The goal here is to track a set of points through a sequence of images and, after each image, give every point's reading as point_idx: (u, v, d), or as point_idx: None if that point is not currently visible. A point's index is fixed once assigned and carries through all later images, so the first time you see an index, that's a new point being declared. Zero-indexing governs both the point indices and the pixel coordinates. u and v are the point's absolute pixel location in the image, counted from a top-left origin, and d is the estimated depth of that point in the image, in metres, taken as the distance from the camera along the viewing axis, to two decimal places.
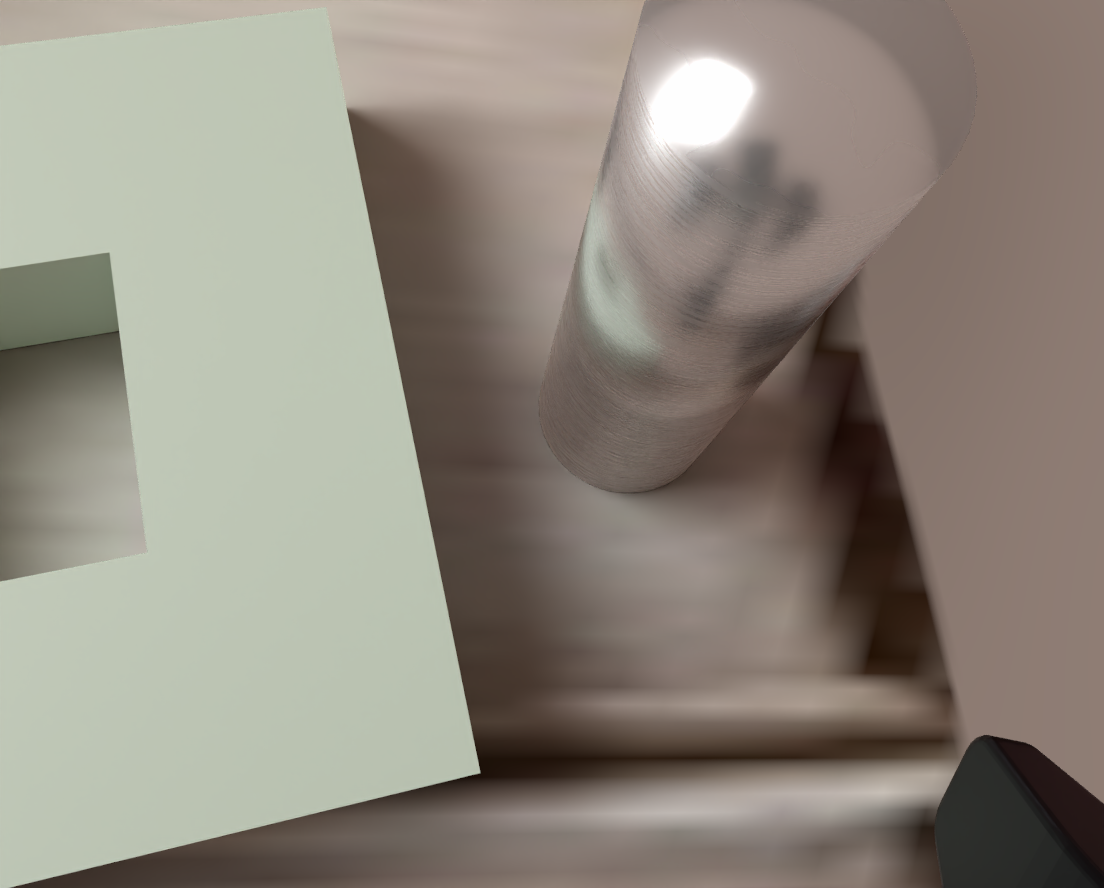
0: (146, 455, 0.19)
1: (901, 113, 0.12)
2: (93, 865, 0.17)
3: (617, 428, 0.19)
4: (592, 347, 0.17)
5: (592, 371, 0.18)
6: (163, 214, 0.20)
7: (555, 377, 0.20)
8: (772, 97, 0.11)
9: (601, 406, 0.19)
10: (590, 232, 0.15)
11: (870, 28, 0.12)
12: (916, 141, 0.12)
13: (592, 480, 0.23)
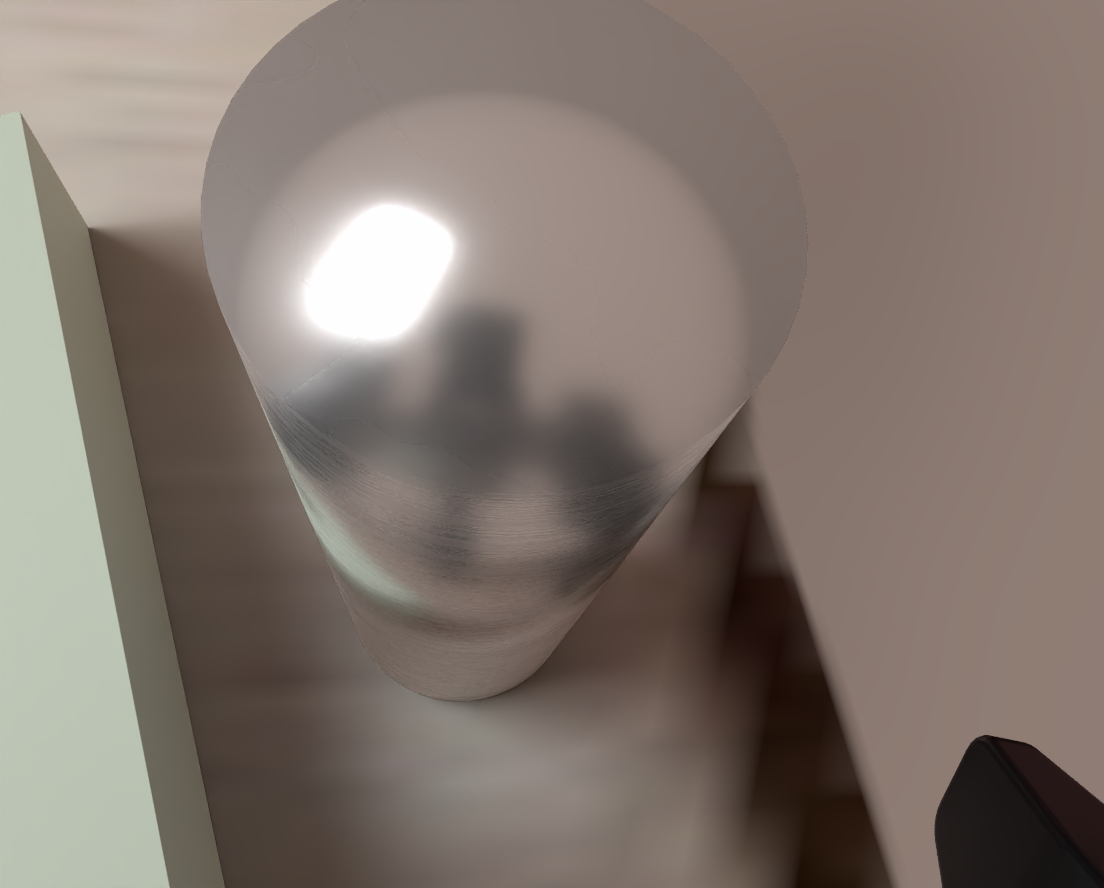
0: None
1: (678, 283, 0.07)
2: None
3: (413, 660, 0.14)
4: (339, 580, 0.12)
5: (354, 604, 0.13)
6: None
7: None
8: (446, 276, 0.06)
9: (382, 638, 0.13)
10: None
11: (620, 138, 0.07)
12: (707, 332, 0.07)
13: (420, 692, 0.17)
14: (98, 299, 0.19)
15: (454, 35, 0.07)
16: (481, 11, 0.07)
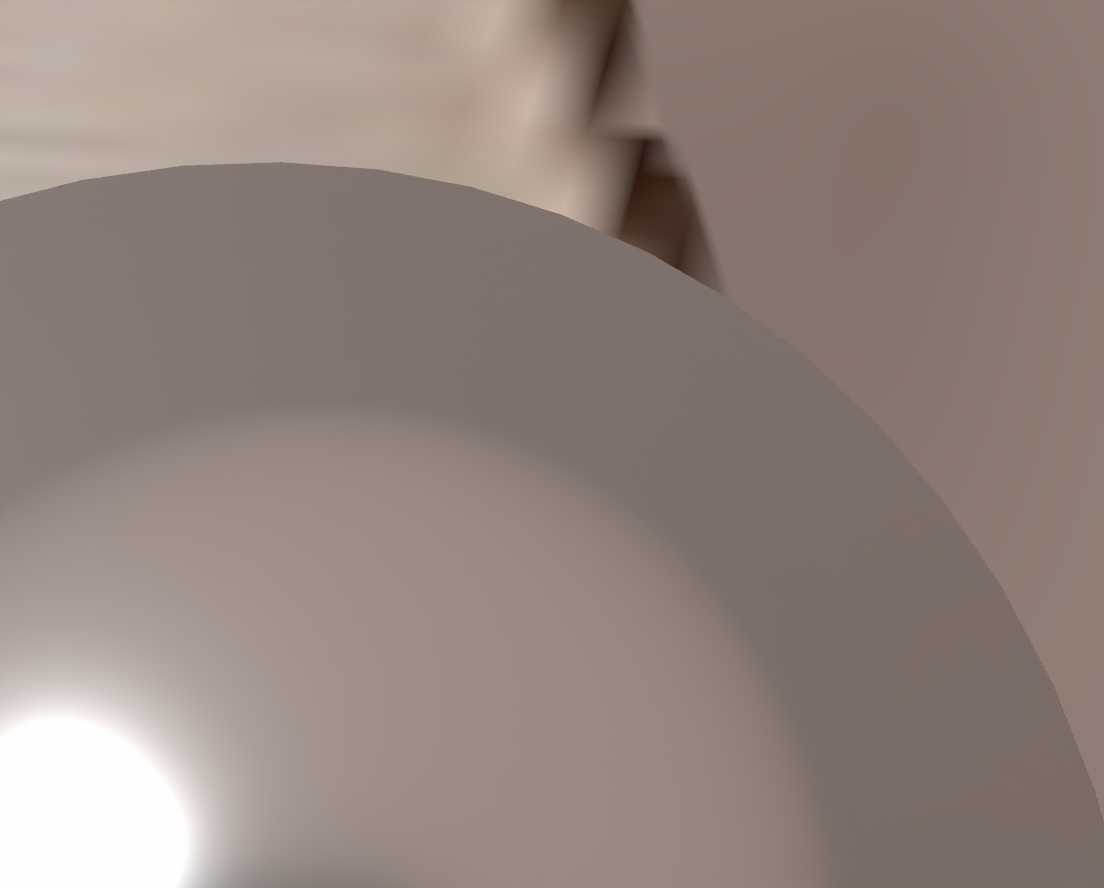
0: None
1: None
2: None
3: None
4: None
5: None
6: None
7: None
8: None
9: None
10: None
11: (587, 703, 0.02)
12: None
13: None
14: None
15: (127, 379, 0.03)
16: (211, 300, 0.03)
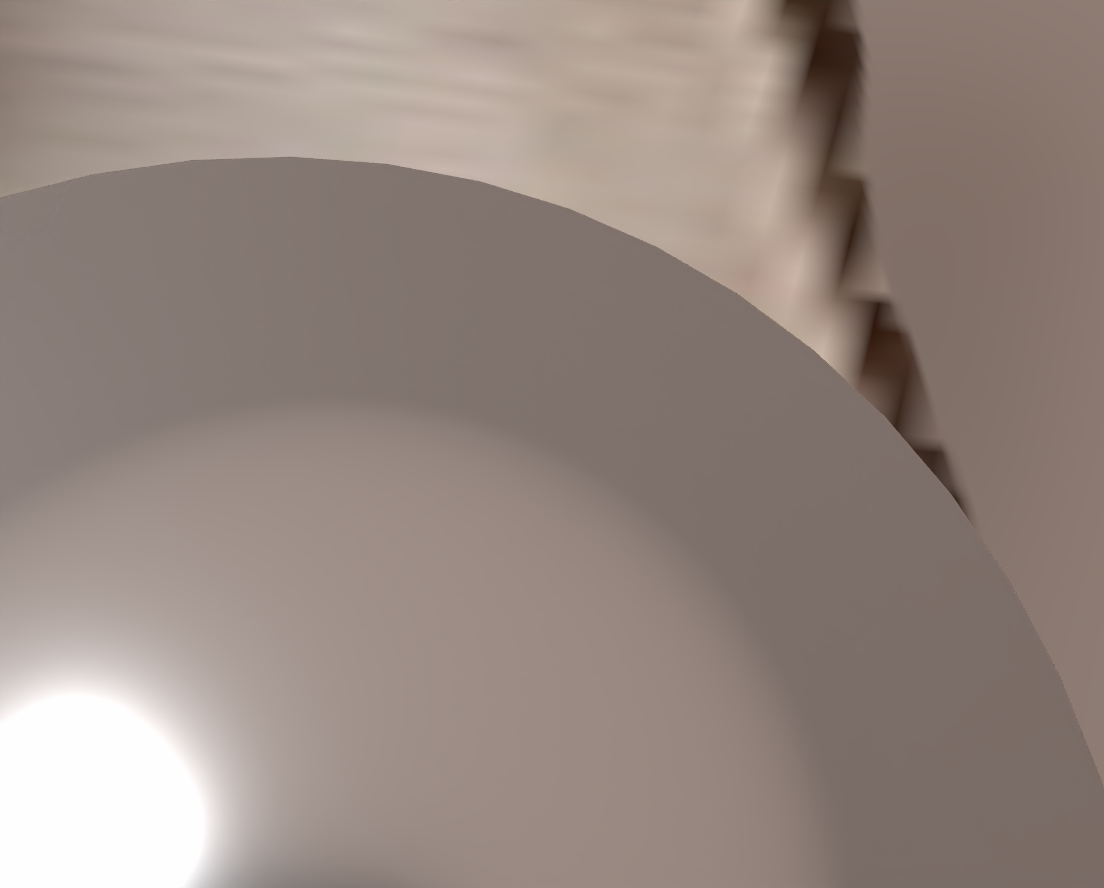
0: None
1: None
2: None
3: None
4: None
5: None
6: None
7: None
8: None
9: None
10: None
11: (597, 694, 0.02)
12: None
13: None
14: None
15: (136, 376, 0.03)
16: (225, 298, 0.03)
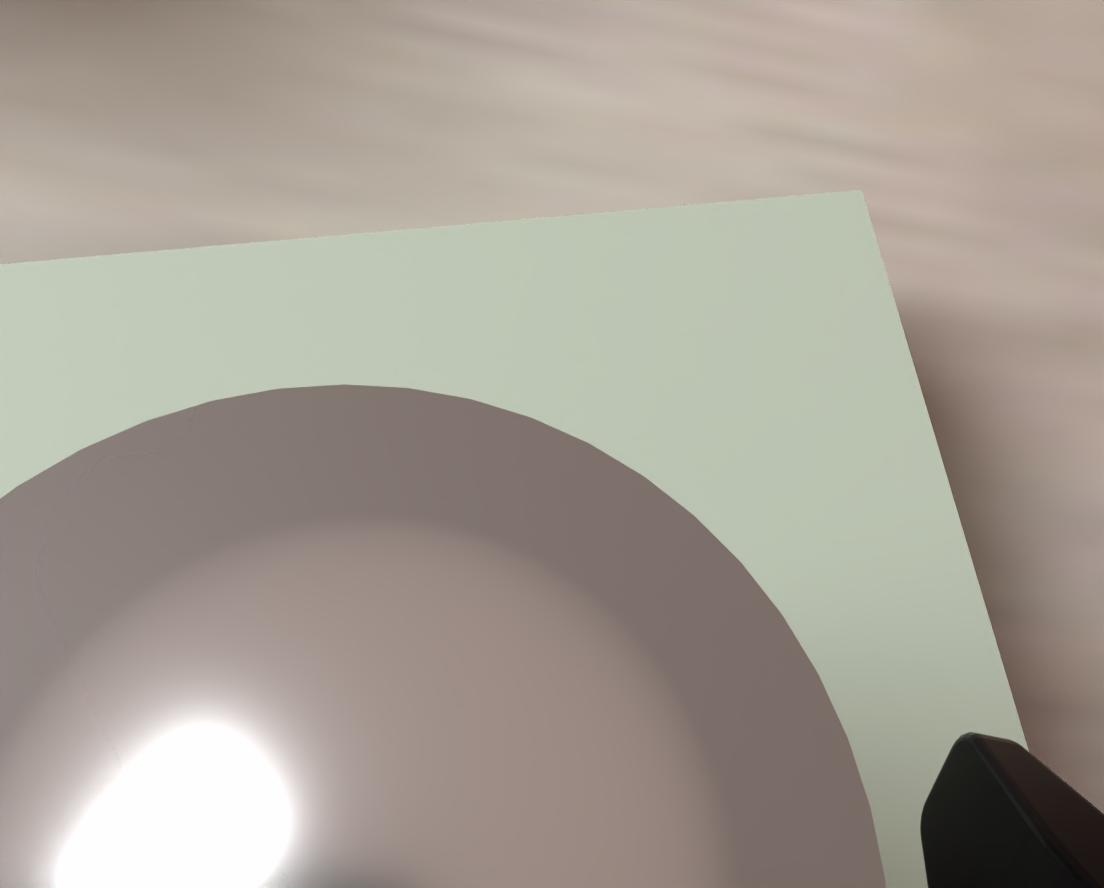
0: None
1: None
2: None
3: None
4: None
5: None
6: (673, 492, 0.14)
7: None
8: None
9: None
10: None
11: (544, 751, 0.04)
12: None
13: None
14: None
15: (244, 540, 0.04)
16: (300, 484, 0.04)
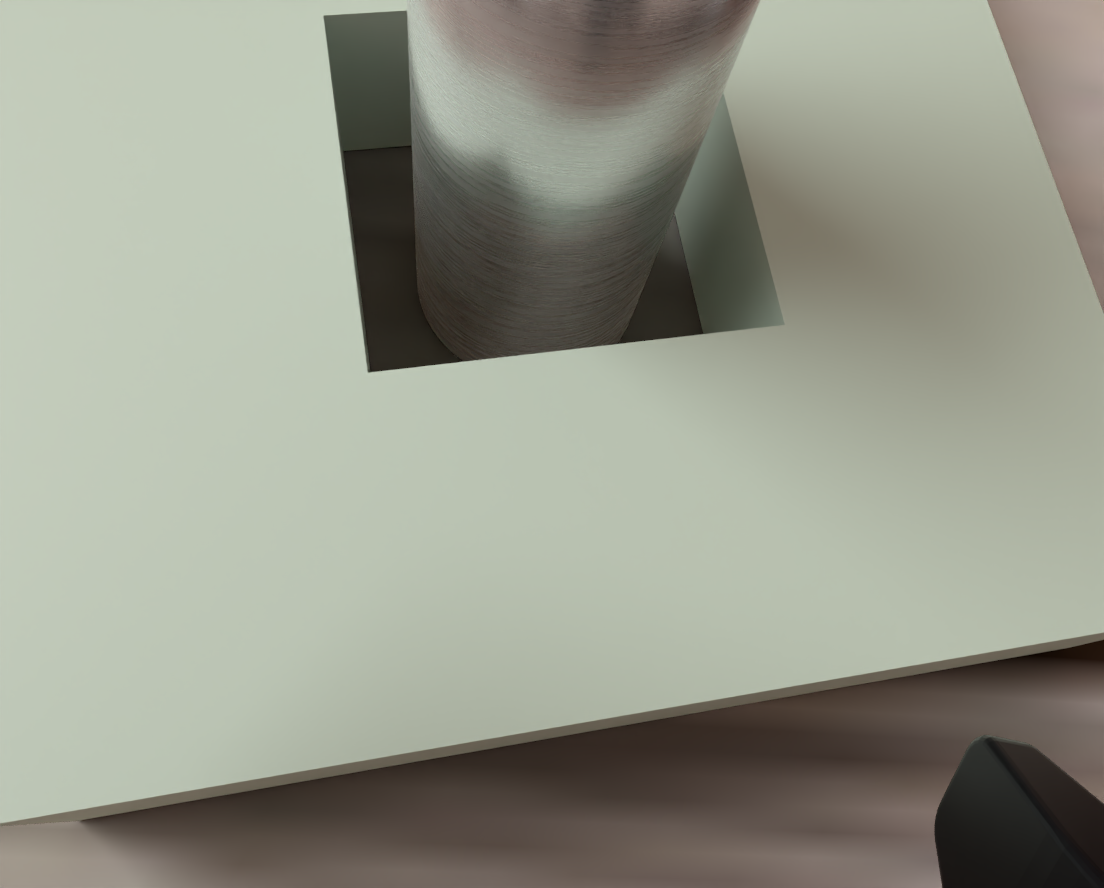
0: (768, 216, 0.15)
1: None
2: (772, 687, 0.13)
3: (500, 256, 0.14)
4: (441, 110, 0.12)
5: (449, 160, 0.13)
6: None
7: (418, 210, 0.15)
8: None
9: (473, 221, 0.14)
10: None
11: None
12: None
13: None
14: None
15: None
16: None
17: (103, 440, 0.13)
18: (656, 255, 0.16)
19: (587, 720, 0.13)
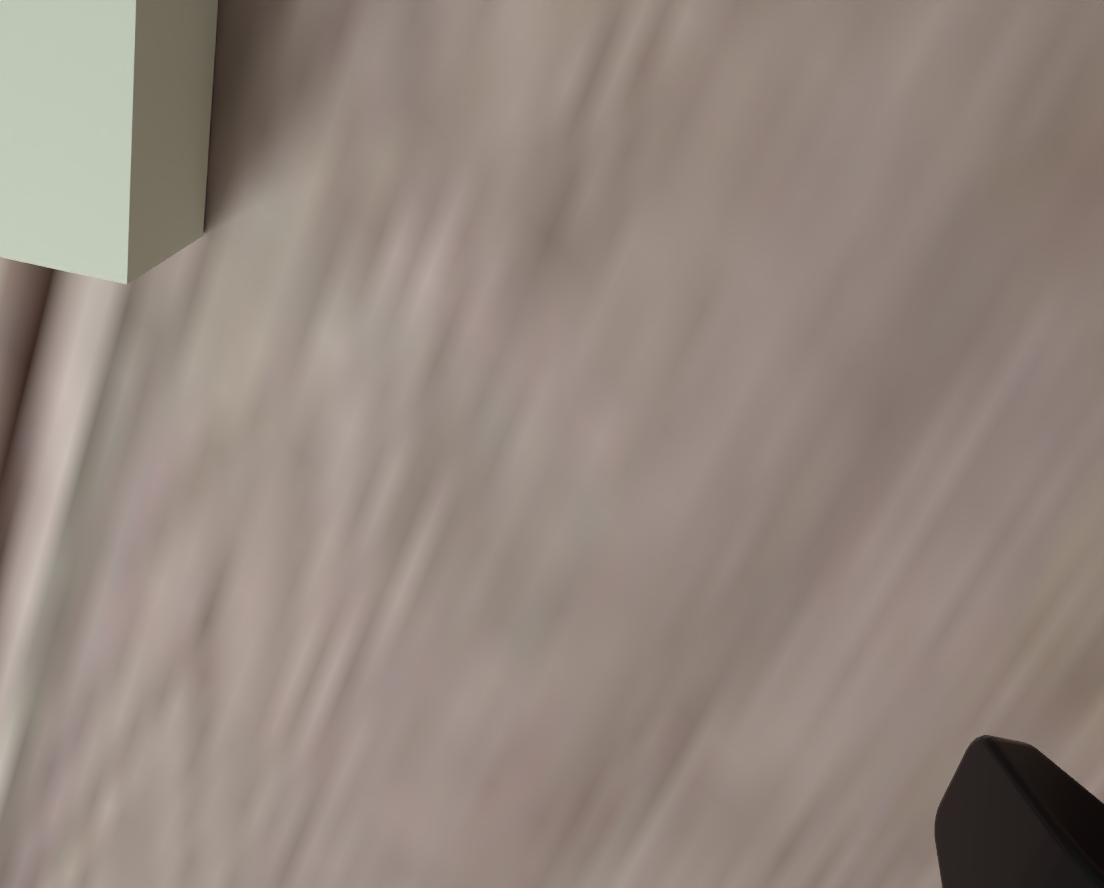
0: None
1: None
2: None
3: None
4: None
5: None
6: None
7: None
8: None
9: None
10: None
11: None
12: None
13: None
14: None
15: None
16: None
17: None
18: None
19: None
